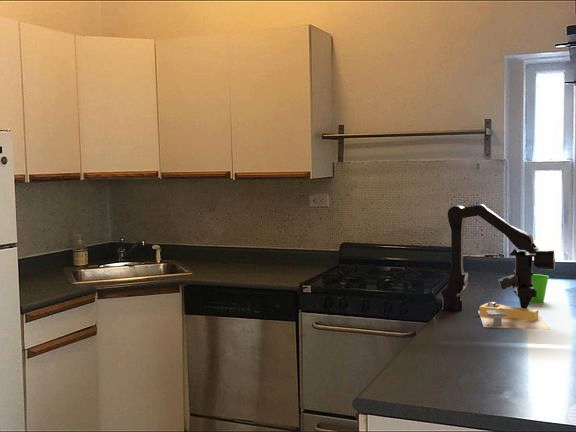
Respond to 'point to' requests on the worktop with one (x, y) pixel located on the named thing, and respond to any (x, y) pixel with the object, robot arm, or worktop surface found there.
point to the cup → (539, 287)
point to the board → (515, 323)
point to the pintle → (492, 304)
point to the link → (511, 312)
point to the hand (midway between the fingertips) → (523, 312)
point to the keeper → (496, 316)
